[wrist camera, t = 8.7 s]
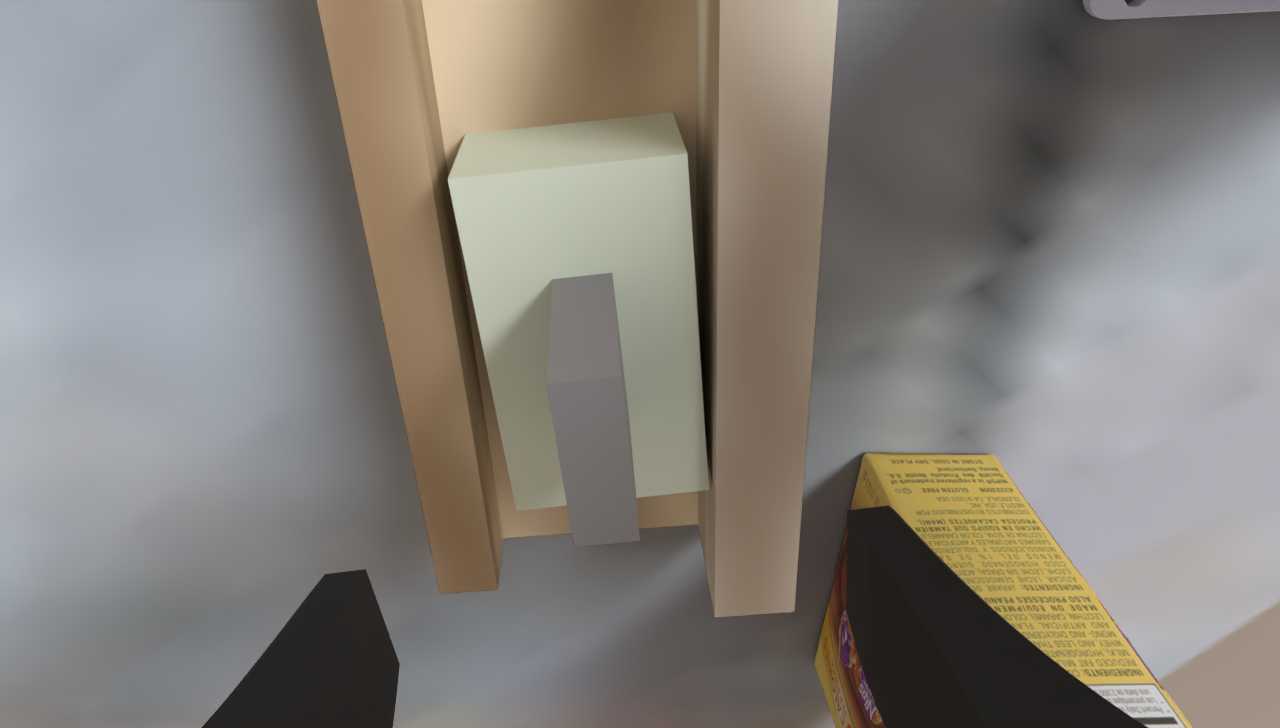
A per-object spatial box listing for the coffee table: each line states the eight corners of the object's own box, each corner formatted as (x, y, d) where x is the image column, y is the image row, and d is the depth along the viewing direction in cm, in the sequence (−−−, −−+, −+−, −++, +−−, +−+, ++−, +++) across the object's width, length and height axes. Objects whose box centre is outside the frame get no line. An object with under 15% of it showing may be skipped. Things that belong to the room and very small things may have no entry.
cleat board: (798, -381, 16) (871, -456, 12) (761, 497, 26) (794, 611, 22) (289, -364, 15) (193, -435, 12) (453, 518, 26) (431, 638, 22)
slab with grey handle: (672, 112, 19) (716, 234, 13) (694, 417, 23) (735, 619, 17) (465, 134, 19) (413, 267, 13) (523, 436, 23) (503, 644, 17)
